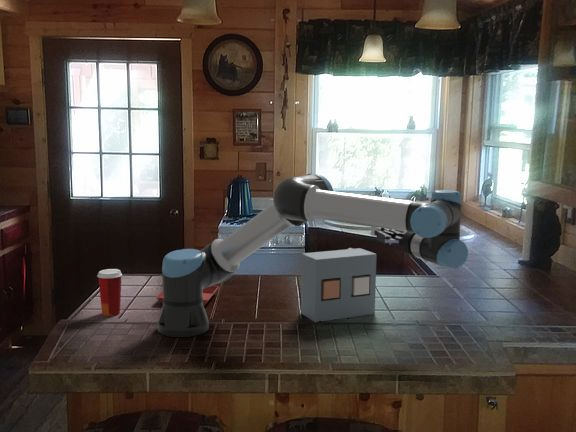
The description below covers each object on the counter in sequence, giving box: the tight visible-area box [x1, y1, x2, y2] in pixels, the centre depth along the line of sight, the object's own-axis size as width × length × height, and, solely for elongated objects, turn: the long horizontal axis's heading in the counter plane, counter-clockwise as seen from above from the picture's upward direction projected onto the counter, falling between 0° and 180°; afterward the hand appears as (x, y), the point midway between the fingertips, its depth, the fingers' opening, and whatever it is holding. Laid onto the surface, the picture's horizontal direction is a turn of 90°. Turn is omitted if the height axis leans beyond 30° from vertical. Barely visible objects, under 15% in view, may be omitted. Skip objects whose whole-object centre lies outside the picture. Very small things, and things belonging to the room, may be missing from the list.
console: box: [300, 247, 378, 323], centre depth 204 cm, size 10×22×20 cm, turn 115°
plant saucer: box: [155, 285, 219, 307], centre depth 220 cm, size 18×18×3 cm
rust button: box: [321, 278, 340, 299], centre depth 199 cm, size 5×6×6 cm
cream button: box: [352, 275, 369, 295], centre depth 204 cm, size 5×6×6 cm
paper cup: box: [96, 268, 123, 317], centre depth 202 cm, size 8×8×14 cm
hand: (373, 229), depth 191 cm, fingers closed
